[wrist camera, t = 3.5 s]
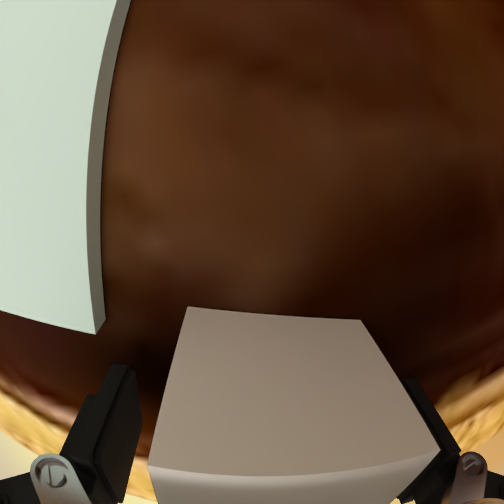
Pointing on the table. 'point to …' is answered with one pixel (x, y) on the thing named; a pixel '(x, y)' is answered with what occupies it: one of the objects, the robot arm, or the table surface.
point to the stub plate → (54, 155)
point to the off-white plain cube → (283, 415)
